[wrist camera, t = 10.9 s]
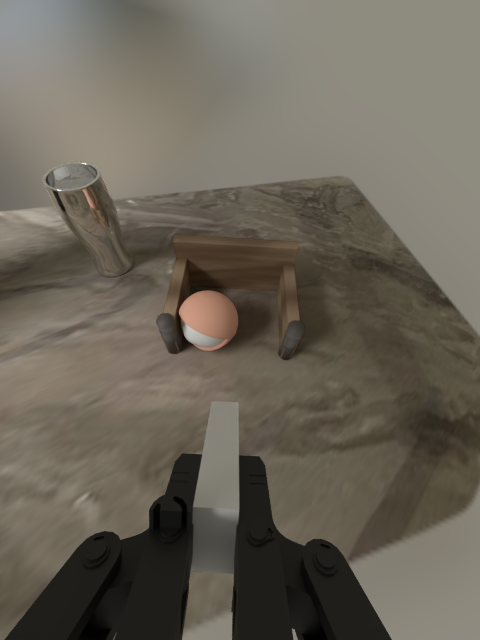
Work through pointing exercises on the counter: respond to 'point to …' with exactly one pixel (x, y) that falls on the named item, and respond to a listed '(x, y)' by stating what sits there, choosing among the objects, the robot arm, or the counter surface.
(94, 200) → the beer glass
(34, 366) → the counter surface
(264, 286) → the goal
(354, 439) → the counter surface
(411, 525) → the counter surface
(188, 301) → the toy ball
